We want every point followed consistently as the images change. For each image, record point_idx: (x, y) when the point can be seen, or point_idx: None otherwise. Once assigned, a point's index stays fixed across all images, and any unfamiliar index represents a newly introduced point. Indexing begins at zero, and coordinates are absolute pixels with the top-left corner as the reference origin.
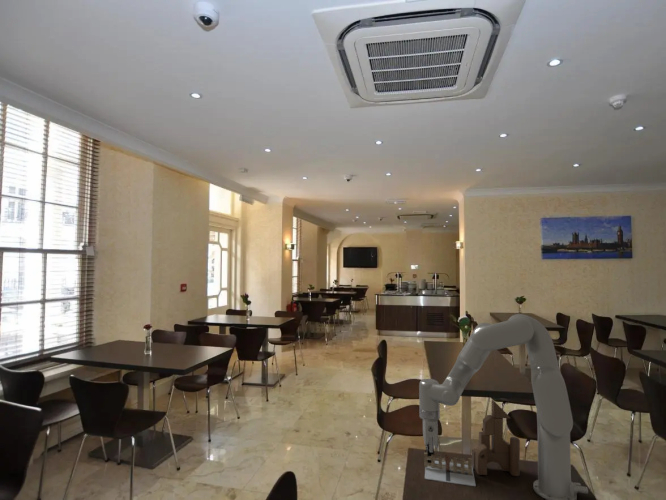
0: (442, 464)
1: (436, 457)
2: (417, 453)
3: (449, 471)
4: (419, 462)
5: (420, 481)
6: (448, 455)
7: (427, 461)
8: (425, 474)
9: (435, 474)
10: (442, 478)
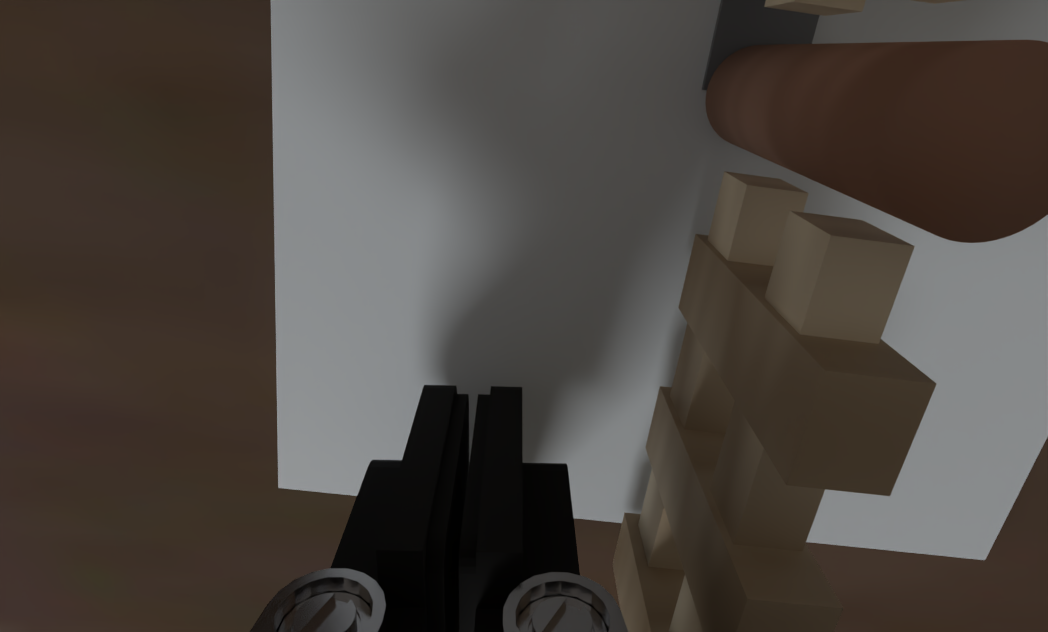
0: (733, 248)
1: (782, 501)
2: (78, 587)
3: None
4: None
5: (1028, 606)
6: (961, 92)
7: (641, 578)
8: (862, 539)
9: None
10: (1043, 263)
